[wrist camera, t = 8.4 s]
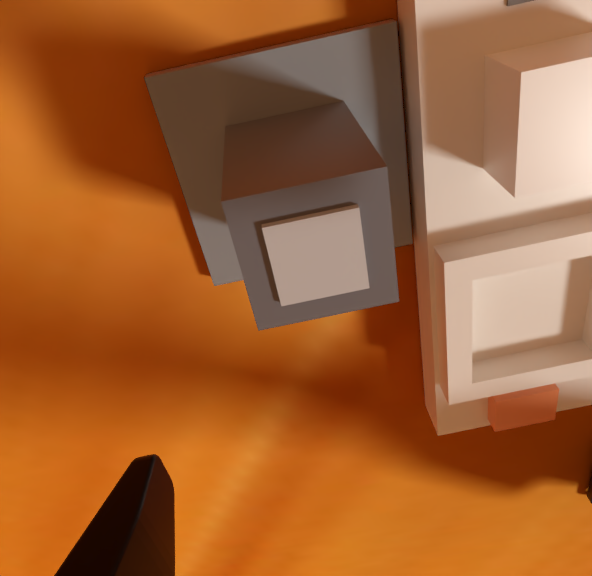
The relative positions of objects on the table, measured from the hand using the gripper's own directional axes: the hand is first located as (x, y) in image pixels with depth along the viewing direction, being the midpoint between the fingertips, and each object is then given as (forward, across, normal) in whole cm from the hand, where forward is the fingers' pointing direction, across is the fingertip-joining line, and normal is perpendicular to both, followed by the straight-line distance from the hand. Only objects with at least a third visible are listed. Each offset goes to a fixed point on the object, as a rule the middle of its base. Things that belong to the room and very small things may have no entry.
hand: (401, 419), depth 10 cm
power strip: (+12, -7, -2) cm, 14 cm away
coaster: (+12, +1, -1) cm, 12 cm away
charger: (+11, +1, -1) cm, 11 cm away
